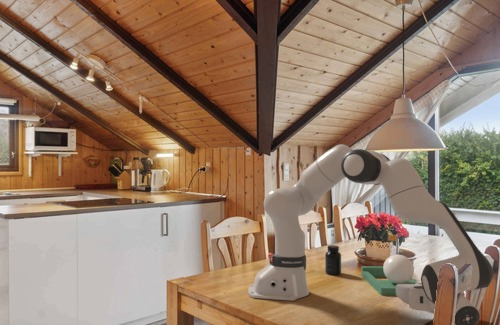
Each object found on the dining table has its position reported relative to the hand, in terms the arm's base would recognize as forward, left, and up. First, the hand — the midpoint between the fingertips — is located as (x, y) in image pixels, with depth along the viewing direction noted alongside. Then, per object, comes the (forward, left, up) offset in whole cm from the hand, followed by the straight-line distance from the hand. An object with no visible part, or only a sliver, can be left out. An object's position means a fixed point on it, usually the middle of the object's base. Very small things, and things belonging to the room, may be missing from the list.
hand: (419, 285), depth 137 cm
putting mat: (0, +26, -8) cm, 27 cm away
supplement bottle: (-20, +42, -8) cm, 47 cm away
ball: (0, +19, 0) cm, 19 cm away
